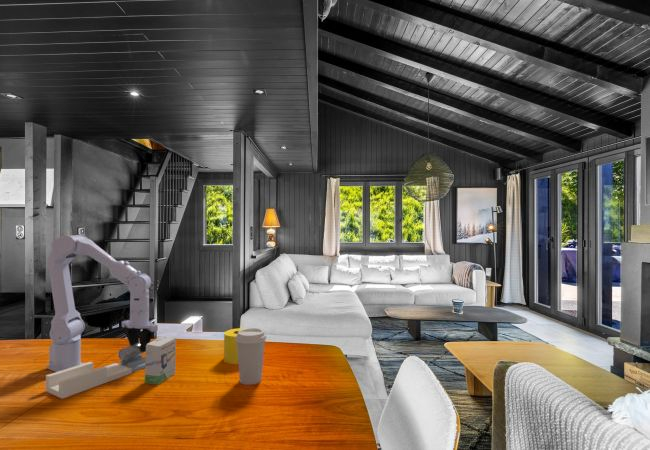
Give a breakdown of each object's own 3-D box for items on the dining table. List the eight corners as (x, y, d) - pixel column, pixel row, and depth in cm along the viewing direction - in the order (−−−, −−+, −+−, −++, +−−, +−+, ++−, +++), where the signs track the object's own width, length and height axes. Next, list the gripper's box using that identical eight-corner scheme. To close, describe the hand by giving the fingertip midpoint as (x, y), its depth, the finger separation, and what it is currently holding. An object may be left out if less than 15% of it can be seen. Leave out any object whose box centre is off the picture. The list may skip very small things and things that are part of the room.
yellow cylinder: (258, 357, 132) (258, 331, 132) (238, 366, 123) (238, 338, 123) (238, 351, 137) (239, 326, 137) (218, 359, 129) (218, 333, 129)
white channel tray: (45, 391, 103) (45, 375, 103) (115, 367, 121) (115, 354, 121) (62, 398, 99) (62, 382, 99) (131, 373, 117) (131, 359, 117)
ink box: (162, 372, 117) (162, 335, 117) (176, 373, 116) (176, 337, 116) (143, 383, 109) (144, 344, 109) (159, 385, 108) (159, 345, 108)
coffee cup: (272, 377, 114) (272, 329, 114) (254, 389, 105) (254, 338, 105) (247, 372, 118) (247, 325, 118) (228, 383, 109) (228, 333, 110)
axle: (128, 361, 117) (125, 348, 117) (119, 361, 118) (117, 349, 119) (153, 349, 126) (151, 338, 126) (145, 350, 128) (143, 339, 128)
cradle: (117, 367, 121) (117, 359, 121) (137, 360, 127) (137, 353, 127) (132, 372, 117) (132, 364, 117) (151, 364, 123) (152, 357, 123)
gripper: (113, 310, 123) (113, 350, 123) (145, 315, 117) (145, 357, 117) (132, 306, 129) (131, 344, 129) (162, 310, 124) (162, 350, 124)
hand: (139, 350), depth 124 cm, fingers closed on axle, 4 cm apart
